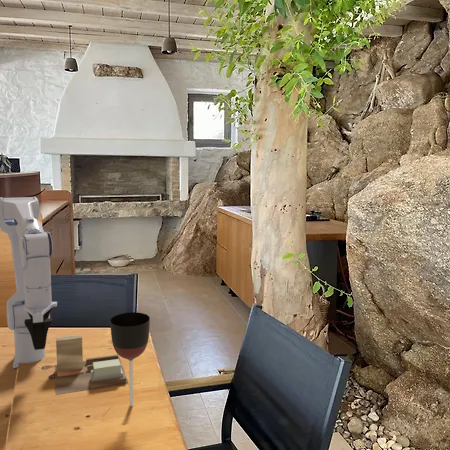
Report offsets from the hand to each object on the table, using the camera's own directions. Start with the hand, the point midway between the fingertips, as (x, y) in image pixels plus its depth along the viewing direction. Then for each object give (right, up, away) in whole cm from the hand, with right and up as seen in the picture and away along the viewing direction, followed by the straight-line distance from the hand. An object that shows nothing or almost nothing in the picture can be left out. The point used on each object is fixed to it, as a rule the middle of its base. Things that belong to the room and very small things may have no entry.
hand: (40, 342), depth 105 cm
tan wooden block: (+4, -8, +7) cm, 12 cm away
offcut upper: (+15, -7, +2) cm, 17 cm away
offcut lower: (+15, -9, +2) cm, 18 cm away
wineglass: (+23, -12, -9) cm, 27 cm away
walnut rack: (+10, -10, +5) cm, 15 cm away
